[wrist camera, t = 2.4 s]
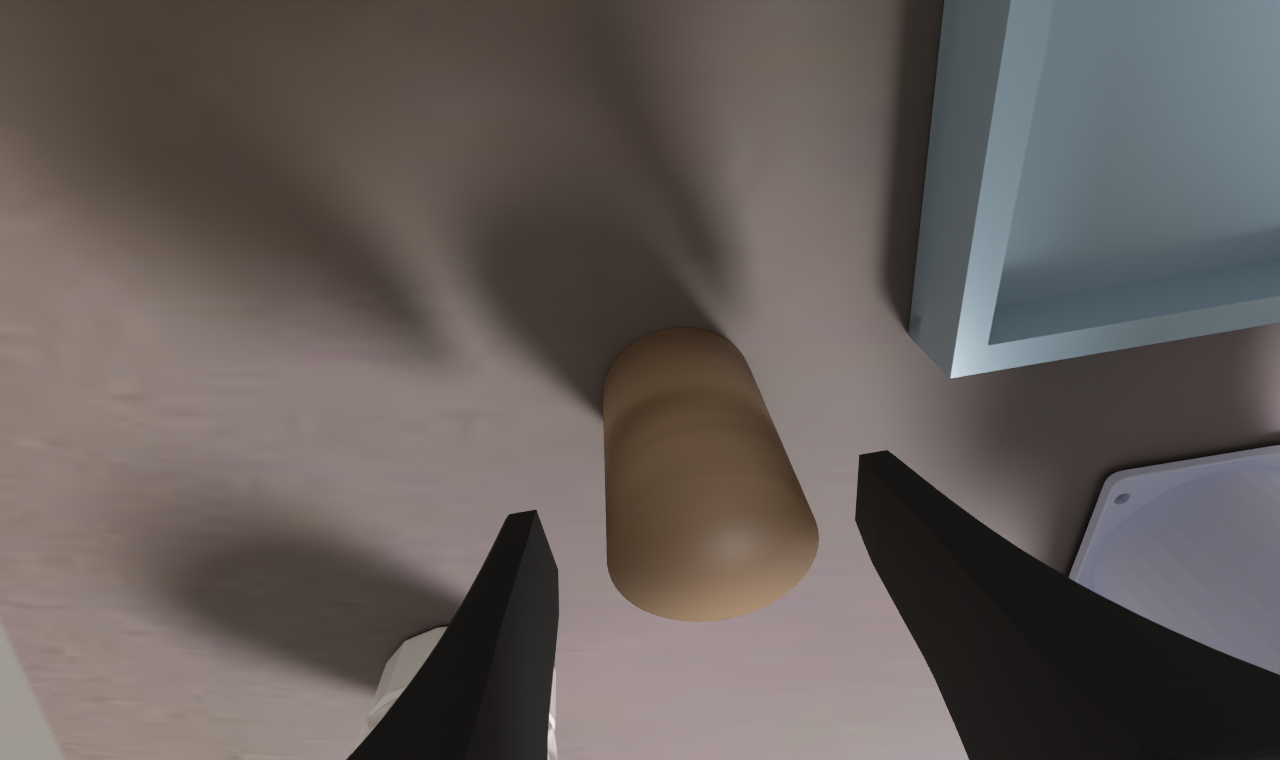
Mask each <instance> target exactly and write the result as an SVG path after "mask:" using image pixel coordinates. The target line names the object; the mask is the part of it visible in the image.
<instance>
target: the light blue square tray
mask: <svg viewBox="0 0 1280 760" xmlns="http://www.w3.org/2000/svg"><path fill="white" fill-rule="evenodd" d="M1275 323H1280V0H944V9H943V18H942V27H941V36H940V46H939V55H938V64H937V74H936V83H935V92H934V101H933V111H932V120H931V129H930V138H929V148H928V157H927V166H926V176H925V185H924V194H923V203H922V213H921V222H920V231H919V241H918V250H917V259H916V268H915V278H914V287H913V296H912V306H911V315H910V324H909V333H908V335H909V336H910V337H911V338H912V339H913V340H914V341H915V342H916V343H917V344H918V345H919V347H920V348H921V349H922V350H923V351H924V352H925V353H926V354H927V355H928V356H929V357H930V358H931V359H932V360H933V361H934V362H935V363H936V364H937V365H938V366H939V367H940V368H941V369H942V370H943V371H944V372H945V374H946V375H947V376H948V377H949V378H956V377H962V376H968V375H974V374H980V373H986V372H991V371H997V370H1003V369H1009V368H1015V367H1021V366H1027V365H1033V364H1039V363H1045V362H1051V361H1056V360H1062V359H1068V358H1074V357H1080V356H1086V355H1092V354H1098V353H1104V352H1110V351H1116V350H1121V349H1127V348H1133V347H1139V346H1145V345H1151V344H1157V343H1163V342H1169V341H1175V340H1181V339H1186V338H1192V337H1198V336H1204V335H1210V334H1216V333H1222V332H1228V331H1234V330H1240V329H1246V328H1251V327H1257V326H1263V325H1269V324H1275Z"/></svg>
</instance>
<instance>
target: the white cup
mask: <svg viewBox="0 0 1280 760" xmlns="http://www.w3.org/2000/svg"><path fill="white" fill-rule="evenodd" d="M447 627H448V626H447ZM447 627H438V628H435V629H432V630H430V631H427V632H425V633H422V634H420V635H418V636H415V637H413V638H410V639H408V640H406V641H404V643H403V644H402V645H401V646H400V647H399V648H398V650H397V651H396V652H395V653H394V654H393V655H392V657H391V658H390V659H389V660H388V661H387V663H386V666H385V669H384V671H383V674H382V677H381V680H380V682H379V685H378V688H377V691H376V694H375V697H374V699H373V702H372V705H371V708H370V711H369V714H368V717H367V720H366V722H365V724H364V725H363V727H362V729H361V731H360V733H359V735H358V737H357V740H356V742H355V744H354V746H353V749H352V751H351V753H350V755H351V754H352V753H353V752H354V751H355V749H356V748H357V747H358V746H359V745H360V744H361V743H362V742H363V740H364V739H365V738H366V737H367V736H368V735H369V734H370V732H371V731H372V730H373V729H374V728H375V726H376V725H377V724H378V723H379V721H380V720H381V719H382V718H383V717H384V715H385V714H386V713H387V711H388V710H389V709H390V708H391V706H392V705H393V704H394V702H395V701H396V700H397V699H398V697H399V696H400V695H401V694H402V692H403V691H404V690H405V688H406V687H407V686H408V684H409V683H410V682H411V680H412V679H413V677H414V676H415V675H416V673H417V672H418V671H419V669H420V668H421V666H422V665H423V664H424V662H425V661H426V659H427V658H428V656H429V655H430V653H431V652H432V650H433V649H434V647H435V646H436V644H437V643H438V641H439V640H440V638H441V637H442V635H443V633H444V632H445V630H446V629H447ZM555 701H556V669H555V667H554V671H553V681H552V691H551V701H550V711H549V725H548V755H547V760H558V750H557V746H556V740H555V734H554V732H555Z"/></svg>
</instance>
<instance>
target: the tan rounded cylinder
mask: <svg viewBox="0 0 1280 760" xmlns="http://www.w3.org/2000/svg"><path fill="white" fill-rule="evenodd" d="M603 417H604V457H605V497H606V538H607V566H608V571H609V574H610V577H611V580H612V582H613V583H614V585H615V587H616V588H617V590H618V591H619V592H620V593H621V594H622V595H623V596H624V597H625V598H626V599H627V600H628V601H630V602H631V603H632V604H634V605H635V606H637V607H639V608H640V609H642V610H644V611H647V612H649V613H651V614H654V615H657V616H660V617H664V618H668V619H673V620H680V621H693V622H701V621H715V620H723V619H728V618H733V617H737V616H740V615H744V614H747V613H750V612H753V611H755V610H758V609H760V608H762V607H764V606H766V605H769V604H770V603H772V602H774V601H775V600H777V599H779V598H780V597H782V596H783V595H785V594H786V593H787V592H789V591H790V590H791V589H792V588H793V587H794V586H795V585H797V584H798V583H799V581H800V580H801V579H802V578H803V577H804V576H805V574H806V573H807V571H808V570H809V568H810V567H811V565H812V563H813V561H814V559H815V556H816V553H817V549H818V541H819V536H818V528H817V524H816V521H815V518H814V516H813V514H812V511H811V509H810V507H809V505H808V502H807V500H806V498H805V495H804V493H803V491H802V488H801V486H800V484H799V481H798V479H797V477H796V474H795V472H794V470H793V467H792V465H791V463H790V461H789V458H788V456H787V454H786V451H785V449H784V447H783V444H782V442H781V440H780V437H779V435H778V433H777V430H776V428H775V426H774V423H773V421H772V419H771V417H770V414H769V412H768V410H767V407H766V405H765V403H764V400H763V398H762V396H761V393H760V391H759V389H758V386H757V384H756V382H755V379H754V377H753V375H752V373H751V370H750V368H749V366H748V364H747V362H746V360H745V358H744V356H743V355H742V354H741V352H740V351H739V350H738V349H737V348H736V347H735V346H734V345H733V344H732V343H731V342H729V341H728V340H727V339H725V338H723V337H721V336H720V335H718V334H715V333H712V332H710V331H707V330H703V329H698V328H690V327H678V328H669V329H664V330H660V331H656V332H654V333H651V334H648V335H646V336H644V337H642V338H640V339H638V340H637V341H635V342H634V343H632V344H631V345H629V346H628V347H627V348H626V349H625V350H623V351H622V352H621V354H620V355H619V356H618V357H617V358H616V359H615V361H614V362H613V364H612V365H611V367H610V369H609V371H608V373H607V376H606V379H605V382H604V388H603Z"/></svg>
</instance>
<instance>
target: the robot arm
mask: <svg viewBox="0 0 1280 760" xmlns="http://www.w3.org/2000/svg"><path fill="white" fill-rule="evenodd" d="M855 521H856V523H857V526H858V529H859V531H860V534H861V536H862V539H863V541H864V544H865V546H866V549H867V551H868V554H869V556H870V558H871V561H872V563H873V565H874V567H875V569H876V571H877V573H878V574H879V576H880V578H881V580H882V582H883V584H884V585H885V587H886V589H887V591H888V593H889V595H890V596H891V598H892V600H893V602H894V604H895V605H896V607H897V609H898V611H899V613H900V615H901V616H902V618H903V620H904V622H905V624H906V625H907V627H908V629H909V631H910V633H911V634H912V636H913V638H914V640H915V642H916V643H917V645H918V647H919V649H920V651H921V652H922V654H923V656H924V658H925V660H926V662H927V664H928V666H929V668H930V670H931V672H932V674H933V676H934V678H935V680H936V683H937V685H938V687H939V689H940V692H941V694H942V696H943V699H944V701H945V703H946V706H947V708H948V710H949V712H950V715H951V717H952V719H953V722H954V724H955V726H956V729H957V731H958V733H959V736H960V738H961V741H962V743H963V746H964V748H965V750H966V753H967V755H968V758H969V760H1280V445H1275V446H1269V447H1263V448H1257V449H1251V450H1244V451H1238V452H1232V453H1226V454H1220V455H1214V456H1208V457H1202V458H1195V459H1189V460H1183V461H1177V462H1171V463H1165V464H1159V465H1153V466H1147V467H1140V468H1134V469H1128V470H1122V471H1118V472H1116V473H1114V474H1112V475H1110V476H1109V477H1108V478H1107V479H1106V481H1105V482H1104V485H1103V488H1102V490H1101V493H1100V496H1099V498H1098V501H1097V504H1096V506H1095V509H1094V511H1093V514H1092V517H1091V519H1090V522H1089V525H1088V527H1087V530H1086V533H1085V535H1084V538H1083V540H1082V543H1081V546H1080V548H1079V551H1078V554H1077V556H1076V559H1075V562H1074V564H1073V567H1072V569H1071V572H1070V575H1069V577H1066V576H1065V575H1063V574H1061V573H1059V572H1058V571H1056V570H1054V569H1053V568H1051V567H1049V566H1047V565H1046V564H1044V563H1042V562H1041V561H1039V560H1037V559H1036V558H1034V557H1032V556H1031V555H1029V554H1028V553H1026V552H1024V551H1023V550H1021V549H1020V548H1018V547H1017V546H1015V545H1014V544H1012V543H1011V542H1009V541H1008V540H1006V539H1005V538H1003V537H1002V536H1000V535H999V534H997V533H996V532H994V531H993V530H991V529H990V528H988V527H987V526H986V525H984V524H983V523H981V522H980V521H979V520H977V519H976V518H974V517H973V516H972V515H970V514H969V513H968V512H966V511H965V510H964V509H962V508H961V507H960V506H958V505H957V504H955V503H954V502H953V501H951V500H950V499H949V498H947V497H946V496H945V495H944V494H942V493H941V492H940V491H938V490H937V489H936V488H935V487H933V486H932V485H931V484H929V483H928V482H927V481H926V480H924V479H923V478H922V477H921V476H919V475H918V474H917V473H916V472H914V471H913V470H912V469H911V468H909V467H908V466H907V465H906V464H904V463H903V462H902V461H901V460H899V459H898V458H897V457H896V456H894V455H893V454H892V453H890V452H889V451H888V450H885V451H879V452H874V453H868V454H862V455H859V469H858V485H857V500H856V516H855ZM558 618H559V590H558V569H557V566H556V563H555V560H554V557H553V555H552V552H551V549H550V546H549V544H548V541H547V538H546V535H545V533H544V530H543V527H542V524H541V522H540V519H539V516H538V513H537V511H536V510H532V511H526V512H520V513H514V514H509V515H508V517H507V518H506V520H505V522H504V524H503V526H502V528H501V530H500V532H499V534H498V536H497V538H496V540H495V542H494V544H493V546H492V548H491V550H490V552H489V554H488V556H487V558H486V560H485V562H484V564H483V566H482V568H481V570H480V572H479V573H478V575H477V577H476V579H475V581H474V583H473V584H472V586H471V588H470V590H469V592H468V593H467V595H466V597H465V599H464V601H463V602H462V604H461V606H460V607H459V609H458V611H457V612H456V614H455V616H454V617H453V619H452V620H451V622H450V624H449V625H448V627H447V629H446V630H445V632H444V633H443V635H442V637H441V638H440V640H439V641H438V643H437V644H436V646H435V647H434V649H433V650H432V652H431V653H430V655H429V656H428V658H427V659H426V661H425V662H424V664H423V665H422V666H421V668H420V669H419V671H418V672H417V673H416V675H415V676H414V677H413V679H412V680H411V682H410V683H409V684H408V686H407V687H406V688H405V690H404V691H403V692H402V694H401V695H400V696H399V697H398V699H397V700H396V701H395V702H394V704H393V705H392V706H391V708H390V709H389V710H388V711H387V713H386V714H385V715H384V717H383V718H382V719H381V720H380V721H379V723H378V724H377V725H376V726H375V728H374V729H373V730H372V731H371V732H370V734H369V735H368V736H367V737H366V738H365V739H364V740H363V742H362V743H361V744H360V745H359V746H358V747H357V748H356V749H355V751H354V752H353V753H352V754H351V755H350V756H349V757H348V758H347V759H346V760H547V755H548V725H549V711H550V701H551V691H552V681H553V671H554V661H555V651H556V640H557V629H558Z"/></svg>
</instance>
